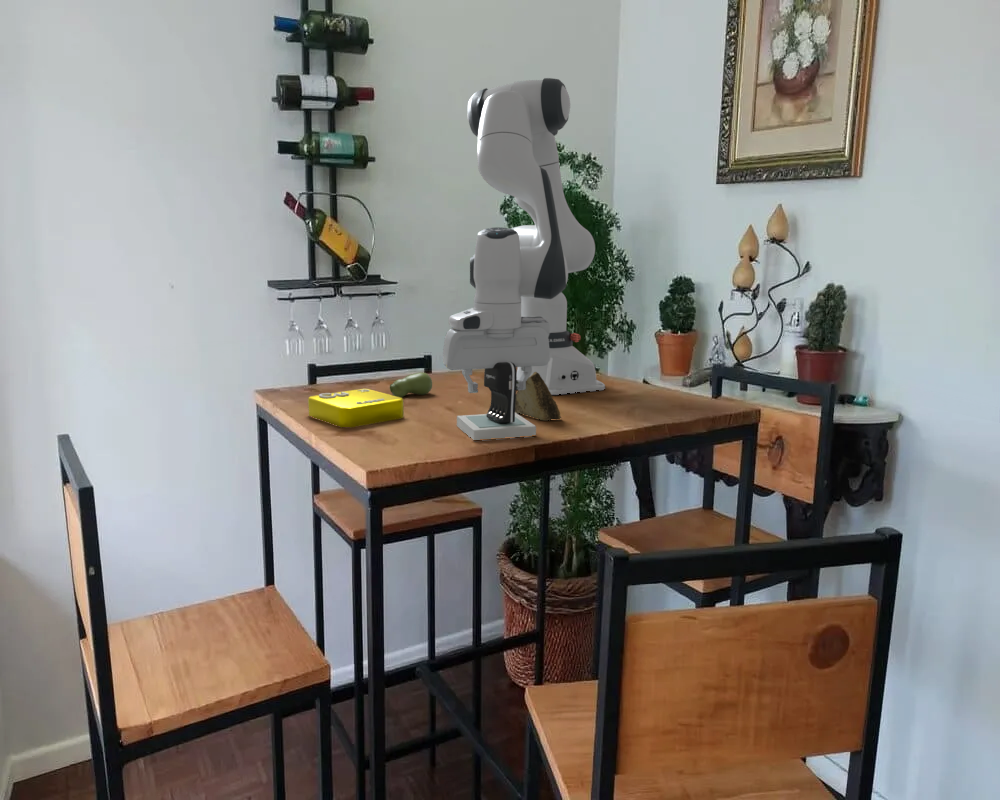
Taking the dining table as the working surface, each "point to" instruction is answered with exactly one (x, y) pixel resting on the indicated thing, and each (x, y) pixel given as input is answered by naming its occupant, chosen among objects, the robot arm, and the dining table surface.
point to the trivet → (494, 427)
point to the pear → (412, 385)
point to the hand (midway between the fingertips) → (496, 391)
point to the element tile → (355, 407)
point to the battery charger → (501, 391)
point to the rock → (536, 400)
